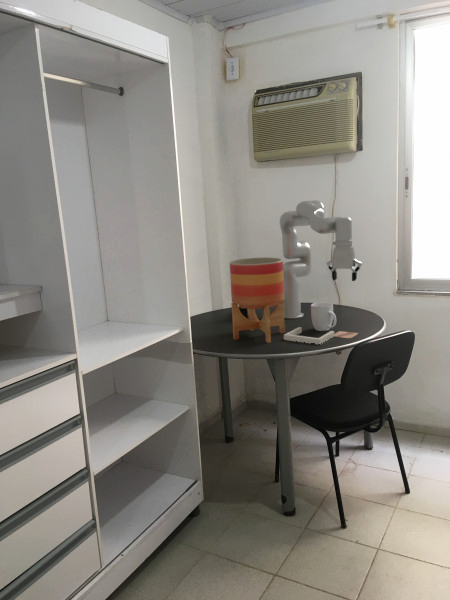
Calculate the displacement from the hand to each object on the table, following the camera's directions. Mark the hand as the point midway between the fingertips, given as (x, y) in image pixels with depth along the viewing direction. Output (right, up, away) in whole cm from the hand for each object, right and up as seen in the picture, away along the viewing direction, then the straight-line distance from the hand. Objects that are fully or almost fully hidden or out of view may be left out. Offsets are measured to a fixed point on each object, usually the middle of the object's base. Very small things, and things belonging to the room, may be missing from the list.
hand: (344, 280), depth 235 cm
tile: (+1, -26, +5) cm, 27 cm away
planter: (-40, -28, +12) cm, 50 cm away
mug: (-7, -25, +16) cm, 30 cm away
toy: (-45, -19, +60) cm, 77 cm away
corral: (-16, -28, +3) cm, 32 cm away
